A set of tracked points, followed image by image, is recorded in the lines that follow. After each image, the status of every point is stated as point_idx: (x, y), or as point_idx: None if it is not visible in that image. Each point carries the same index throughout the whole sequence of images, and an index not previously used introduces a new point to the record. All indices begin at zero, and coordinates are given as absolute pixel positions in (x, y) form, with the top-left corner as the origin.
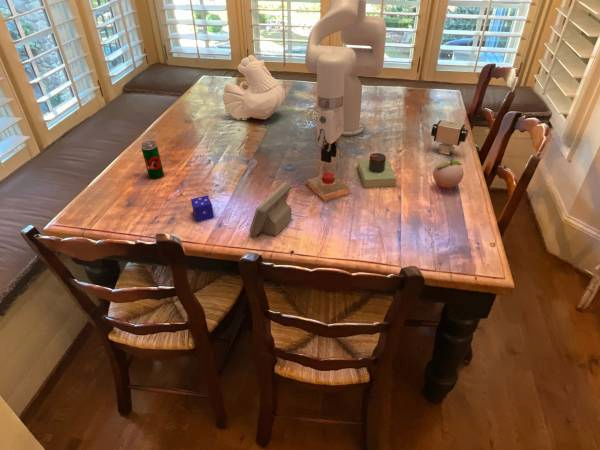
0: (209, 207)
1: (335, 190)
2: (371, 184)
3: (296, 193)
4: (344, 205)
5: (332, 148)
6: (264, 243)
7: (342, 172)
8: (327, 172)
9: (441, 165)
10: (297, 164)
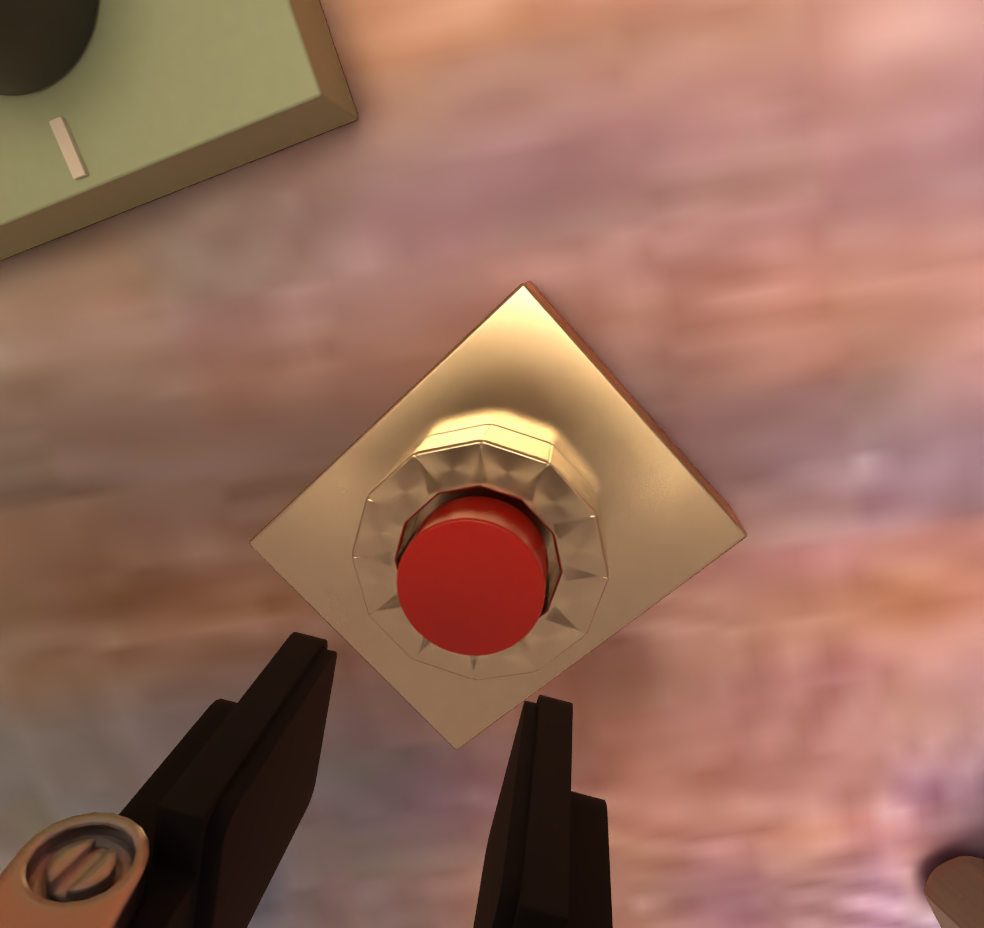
0: None
1: (617, 435)
2: (315, 19)
3: (629, 776)
4: (779, 289)
5: (252, 826)
6: None
7: (125, 420)
8: (409, 606)
9: None
10: None
